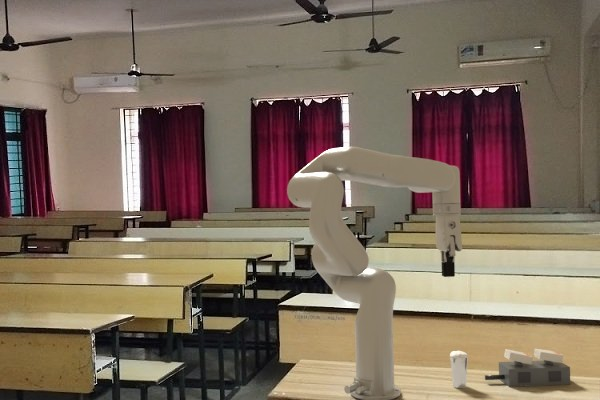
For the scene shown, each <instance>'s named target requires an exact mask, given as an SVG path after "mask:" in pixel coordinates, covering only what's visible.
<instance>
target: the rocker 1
mask: <svg viewBox="0 0 600 400" xmlns="http://www.w3.org/2000/svg"><path fill="white" fill-rule="evenodd" d="M503 357H504V358H506V359H507V360H509V361H511V362H513V361H517V362H521V363H526V364H532V361H533V359H534V357H533V355H530V354H529V353H528V352H527V353H525V352H522V351H517V350H512V349H507V348H505V350H504V355H503Z"/></svg>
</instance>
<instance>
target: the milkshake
mask: <svg viewBox="0 0 600 400" xmlns="http://www.w3.org/2000/svg"><path fill="white" fill-rule="evenodd" d="M471 349H472V348H470V349H469V351H468V354H467V353H466V352H465V351H462V350H453V351H451V352H450V354H449V360H450V368H451V369H450V370H451V380H452V387H453V388H455V389H465V388H466V387H467V376H468V360H469V353H470V352H471Z"/></svg>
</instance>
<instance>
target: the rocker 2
mask: <svg viewBox="0 0 600 400" xmlns="http://www.w3.org/2000/svg"><path fill="white" fill-rule="evenodd" d="M533 356H534V358H536V359H538V360H539V361H541V360H546V361H553V362H560V363H563V359H564V354H562V353H560V352H558V351H555V350H554V351H553V350H548V349H542V348H541V349H540V348H534V353H533Z"/></svg>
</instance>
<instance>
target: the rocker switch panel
mask: <svg viewBox="0 0 600 400" xmlns="http://www.w3.org/2000/svg"><path fill="white" fill-rule="evenodd" d="M484 380H485V381H493V380H495V381H496V380H500V381H501V382H503V383H504V384H505V385H506V386H507V387H509V388H511V387H512V388H513V387H514V388H515V387H519V388H520V387H540V386H545V387H546V386H567V385H571V367H570V366H569V365H567V364H566V363H563V362H562V363H560V362H553V361H546V360H532V364H526V363H521V362H517V361H498V374H487V375H484Z"/></svg>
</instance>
